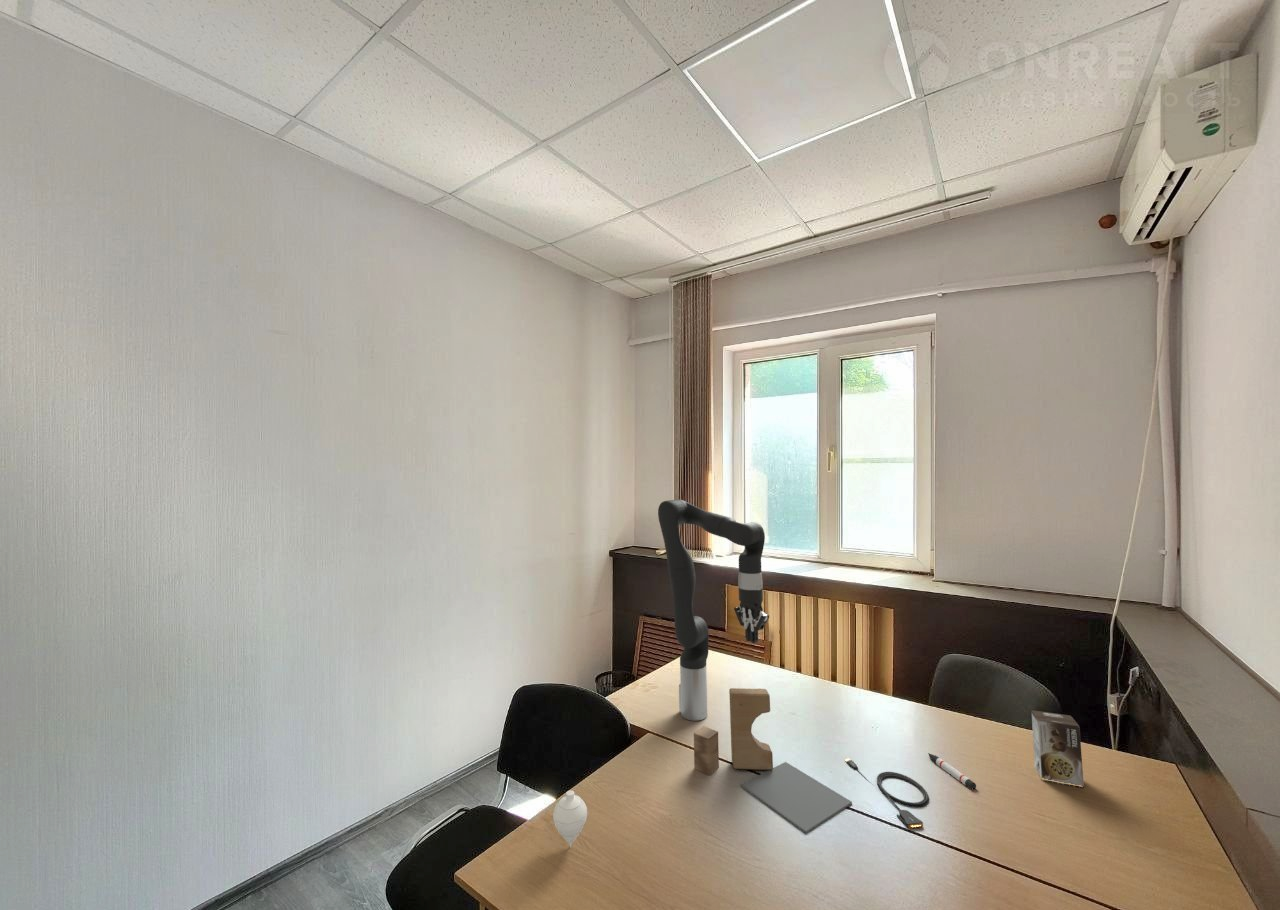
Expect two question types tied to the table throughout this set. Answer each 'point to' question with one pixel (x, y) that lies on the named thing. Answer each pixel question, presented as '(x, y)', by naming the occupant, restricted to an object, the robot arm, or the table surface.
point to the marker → (952, 771)
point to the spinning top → (570, 816)
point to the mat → (796, 796)
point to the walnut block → (706, 750)
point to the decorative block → (748, 729)
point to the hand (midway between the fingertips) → (751, 641)
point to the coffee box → (1057, 747)
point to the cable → (904, 815)
